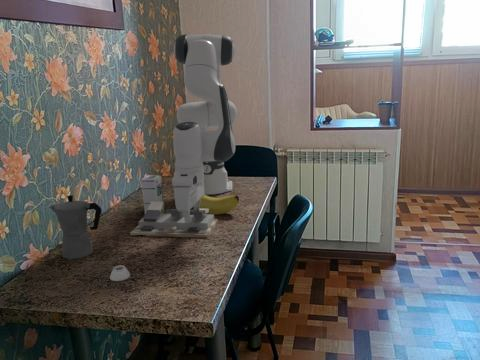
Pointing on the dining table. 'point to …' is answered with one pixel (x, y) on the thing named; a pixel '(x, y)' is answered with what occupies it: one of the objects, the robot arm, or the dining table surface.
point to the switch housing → (179, 221)
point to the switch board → (174, 231)
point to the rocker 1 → (153, 211)
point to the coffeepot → (76, 227)
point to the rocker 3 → (199, 213)
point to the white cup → (119, 273)
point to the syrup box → (152, 190)
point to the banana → (219, 204)
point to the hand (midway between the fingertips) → (192, 217)
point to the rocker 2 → (174, 212)
